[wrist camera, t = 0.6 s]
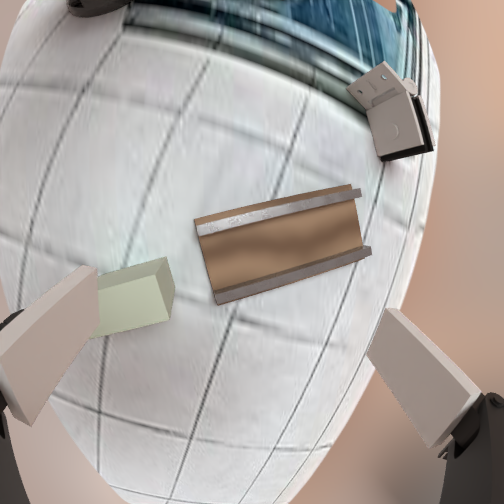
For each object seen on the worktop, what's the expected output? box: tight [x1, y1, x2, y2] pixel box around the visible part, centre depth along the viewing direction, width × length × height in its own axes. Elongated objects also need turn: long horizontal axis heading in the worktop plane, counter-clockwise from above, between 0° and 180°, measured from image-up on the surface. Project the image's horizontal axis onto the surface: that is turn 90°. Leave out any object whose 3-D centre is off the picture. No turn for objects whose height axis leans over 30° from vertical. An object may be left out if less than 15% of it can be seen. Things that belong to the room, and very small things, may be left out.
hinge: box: [346, 61, 436, 162], centre depth 33 cm, size 14×5×10 cm, turn 26°
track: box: [194, 184, 372, 305], centre depth 35 cm, size 11×22×3 cm, turn 105°
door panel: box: [89, 257, 175, 339], centre depth 26 cm, size 4×9×12 cm, turn 105°
